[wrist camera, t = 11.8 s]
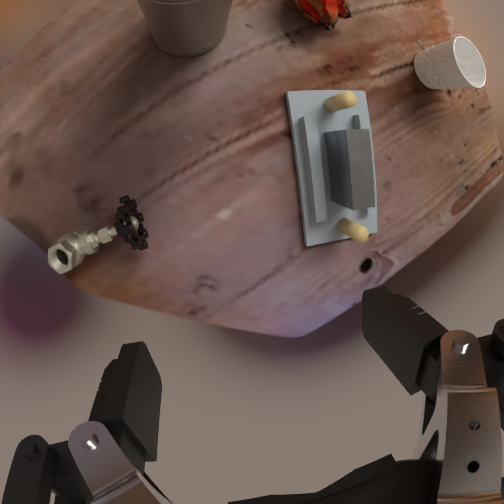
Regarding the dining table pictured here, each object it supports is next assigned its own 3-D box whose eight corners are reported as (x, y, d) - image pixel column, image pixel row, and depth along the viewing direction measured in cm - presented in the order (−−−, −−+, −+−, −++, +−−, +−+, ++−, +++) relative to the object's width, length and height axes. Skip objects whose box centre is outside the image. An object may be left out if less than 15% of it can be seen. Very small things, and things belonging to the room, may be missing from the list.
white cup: (404, 71, 33) (449, 59, 23) (416, 40, 31) (457, 26, 21) (437, 102, 35) (481, 98, 25) (447, 70, 33) (488, 63, 24)
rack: (285, 93, 32) (300, 82, 26) (361, 92, 33) (385, 84, 27) (304, 244, 39) (321, 259, 33) (373, 230, 40) (397, 242, 34)
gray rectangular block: (324, 132, 33) (346, 129, 28) (345, 131, 34) (369, 128, 28) (331, 201, 36) (353, 210, 31) (351, 198, 37) (375, 207, 31)
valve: (78, 268, 35) (152, 239, 35) (59, 289, 29) (142, 257, 29) (59, 225, 32) (133, 191, 33) (35, 239, 26) (119, 199, 27)
